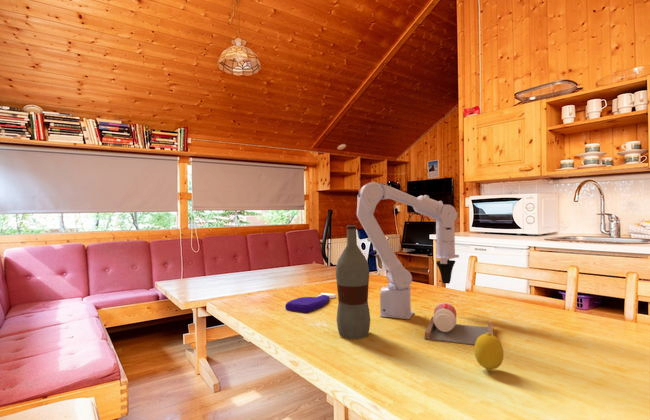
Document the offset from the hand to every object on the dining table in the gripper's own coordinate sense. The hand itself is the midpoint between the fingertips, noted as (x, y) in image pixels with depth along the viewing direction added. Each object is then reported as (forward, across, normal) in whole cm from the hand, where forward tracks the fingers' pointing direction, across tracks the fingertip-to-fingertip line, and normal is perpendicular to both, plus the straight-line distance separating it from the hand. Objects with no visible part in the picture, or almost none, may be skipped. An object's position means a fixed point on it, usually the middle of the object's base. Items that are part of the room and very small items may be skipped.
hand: (446, 283), depth 118 cm
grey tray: (+10, -19, -5) cm, 22 cm away
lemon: (+10, -41, -12) cm, 44 cm away
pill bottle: (+7, -11, -1) cm, 13 cm away
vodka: (+10, -29, +22) cm, 38 cm away
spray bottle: (+11, -2, +47) cm, 48 cm away
